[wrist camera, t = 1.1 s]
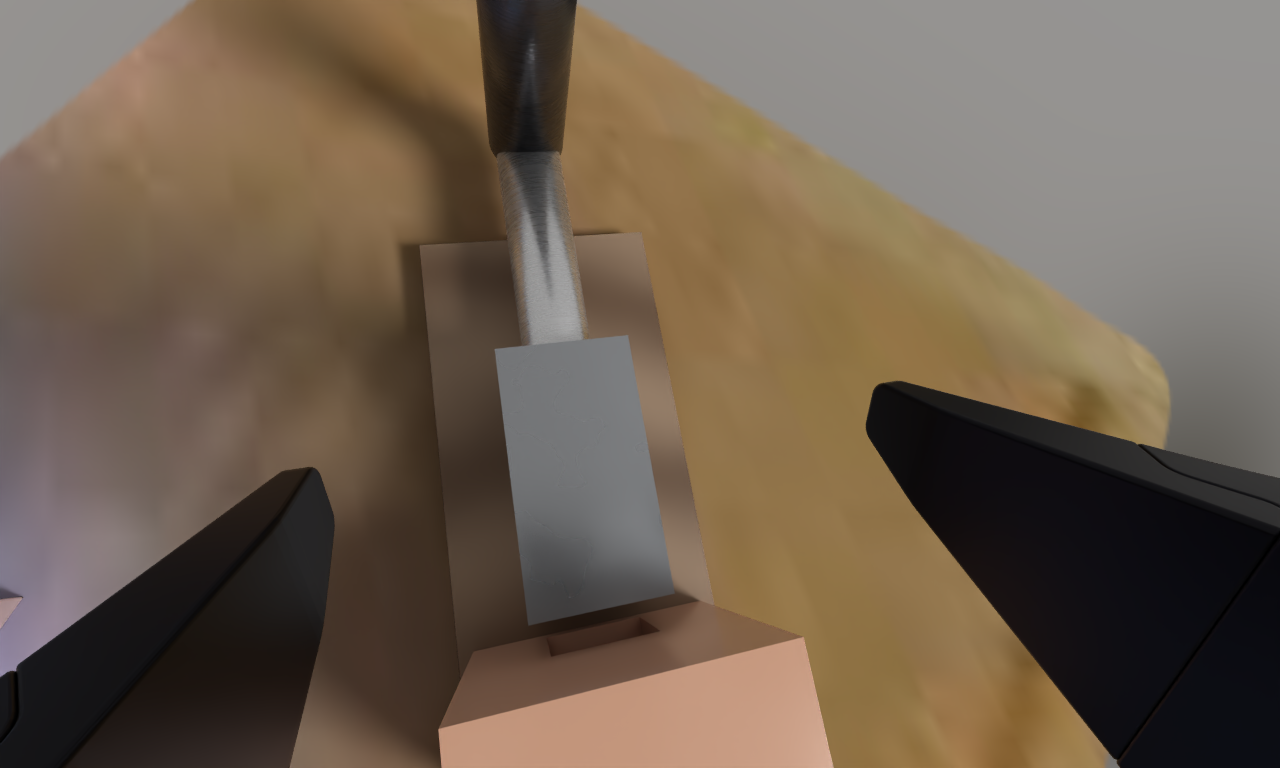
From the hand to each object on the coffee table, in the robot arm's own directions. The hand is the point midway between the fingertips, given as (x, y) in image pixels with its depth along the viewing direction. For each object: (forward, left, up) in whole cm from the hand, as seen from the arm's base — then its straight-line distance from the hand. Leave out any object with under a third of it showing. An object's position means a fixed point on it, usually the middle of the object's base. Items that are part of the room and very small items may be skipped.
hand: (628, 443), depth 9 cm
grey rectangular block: (0, 0, -12) cm, 12 cm away
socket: (-7, +1, -12) cm, 14 cm away
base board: (0, 0, -13) cm, 13 cm away
